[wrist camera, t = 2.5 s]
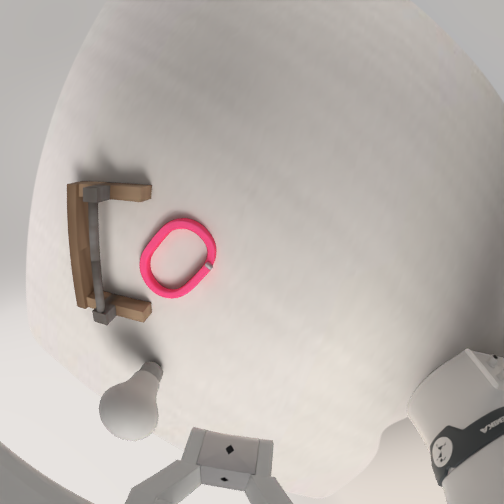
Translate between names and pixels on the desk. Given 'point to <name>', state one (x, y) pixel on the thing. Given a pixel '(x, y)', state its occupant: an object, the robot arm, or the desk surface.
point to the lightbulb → (133, 404)
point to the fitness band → (156, 241)
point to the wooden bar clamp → (87, 248)
